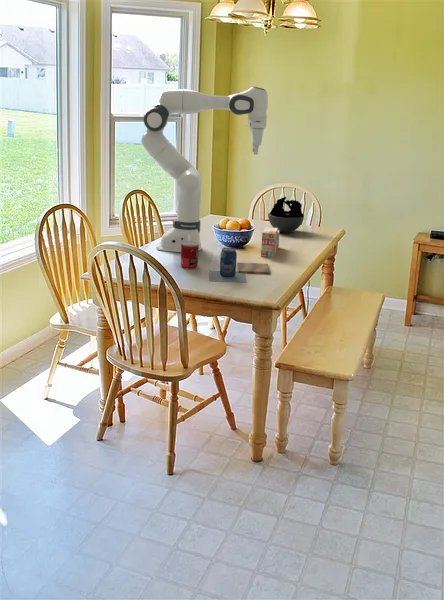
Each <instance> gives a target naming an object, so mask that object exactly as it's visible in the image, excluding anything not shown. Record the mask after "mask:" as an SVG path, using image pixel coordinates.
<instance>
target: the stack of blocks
mask: <svg viewBox="0 0 444 600" xmlns="http://www.w3.org/2000/svg"><path fill="white" fill-rule="evenodd" d="M279 241H280V231H279V230H278V228H273V227H268V226H265V228H264V230H262V233H261V247H260V249H261V251H260V257H261V258H272V259H273V258H274V257H275V256H276V253H277V251H278V249H279V245H280V242H279Z"/></svg>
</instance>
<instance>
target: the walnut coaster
mask: <svg viewBox="0 0 444 600" xmlns="http://www.w3.org/2000/svg"><path fill="white" fill-rule="evenodd" d="M236 266H237V272H238V273H245V274H253V275H254V274H255V275H271V271H270V266H269V263H261V262H258V263H257V262H239V261H238V262H237V263H236Z"/></svg>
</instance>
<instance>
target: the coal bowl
mask: <svg viewBox="0 0 444 600" xmlns="http://www.w3.org/2000/svg"><path fill="white" fill-rule="evenodd" d="M284 204H285V205H286V206H288V208H289V210H285V208H284ZM302 207H303V205H302V203H301V202H299V200H296V199H295V200H294V199H290V200H288V199H287V197H286V196H283V197H282V198H279V199H277V200H276V203H274V204H273V207H272V209H271V211H269V212H268V213H267V218H268V222H269V224H270V225H271V226H272V227H271V228H278V230H279V233H285V234H287V233H293V232H294V231H296V230H297V229H299V228H300V227H301V226H302V223H303V222H304V219H305V215H304V213H303V212H302Z"/></svg>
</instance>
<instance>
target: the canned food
mask: <svg viewBox="0 0 444 600" xmlns="http://www.w3.org/2000/svg"><path fill="white" fill-rule="evenodd" d="M199 251H200V250H199V243H197V242H194V241H183V242H182V243H181V252H180V266H181V268H182V269H187V270H193V269H197V268H198V266H199Z"/></svg>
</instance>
